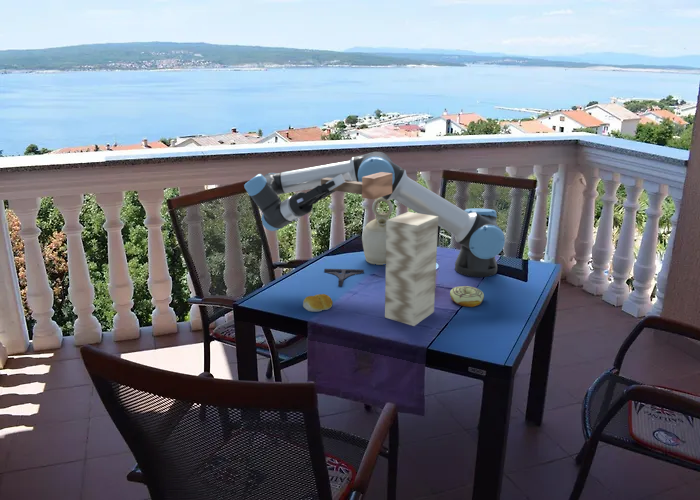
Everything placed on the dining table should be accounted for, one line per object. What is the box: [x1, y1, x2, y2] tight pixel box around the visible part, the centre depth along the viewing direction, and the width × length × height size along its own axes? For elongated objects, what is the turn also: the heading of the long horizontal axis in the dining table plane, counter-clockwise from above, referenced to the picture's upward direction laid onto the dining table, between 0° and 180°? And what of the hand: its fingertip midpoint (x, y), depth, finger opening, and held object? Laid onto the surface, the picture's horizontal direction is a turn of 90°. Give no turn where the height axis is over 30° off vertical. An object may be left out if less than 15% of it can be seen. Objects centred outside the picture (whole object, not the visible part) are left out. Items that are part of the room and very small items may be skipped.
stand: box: [384, 211, 439, 327], centre depth 161 cm, size 10×12×30 cm
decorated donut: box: [449, 285, 485, 308], centre depth 175 cm, size 10×11×4 cm
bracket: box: [323, 268, 365, 287], centre depth 195 cm, size 14×15×3 cm
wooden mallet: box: [321, 172, 393, 200], centre depth 166 cm, size 22×10×6 cm, turn 54°
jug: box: [361, 197, 394, 266], centre depth 210 cm, size 15×16×25 cm
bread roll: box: [302, 293, 333, 313], centre depth 171 cm, size 8×9×4 cm
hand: (346, 177), depth 166 cm, fingers closed on wooden mallet, 3 cm apart
